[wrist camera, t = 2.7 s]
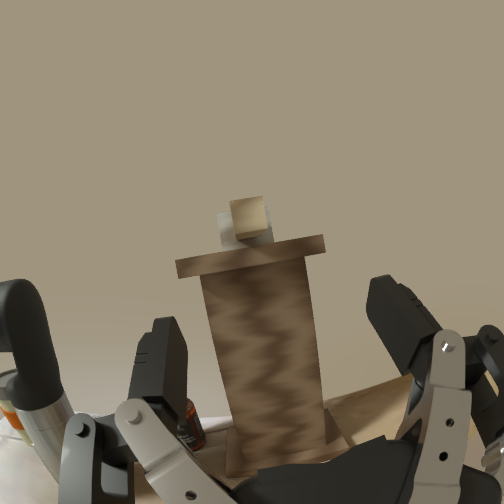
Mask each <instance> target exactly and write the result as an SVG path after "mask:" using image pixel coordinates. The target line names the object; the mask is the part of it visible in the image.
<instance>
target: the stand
mask: <svg viewBox="0 0 504 504" xmlns="http://www.w3.org/2000/svg"><path fill="white" fill-rule="evenodd" d="M325 252H326V251H325V245H324V239H323V234H322V235H315V236H310V237H303V238H298V239H292V240H286V241H281V242H275V243H269V244H263V245H257V246H252V247H246V248H240V249H235V250H229V251H224V252H218V253H212V254H207V255H201V256H196V257H190V258H184V259H179V260H175V263H176V268H177V274H178V278H179V279H180V278H186V277H192V276H198V275H200V280H201V285H202V291H203V295H204V301H205V305H206V310H207V315H208V320H209V325H210V329H211V334H212V338H213V343H214V346H215V351H216V355H217V359H218V364H219V368H220V372H221V376H222V380H223V384H224V388H225V391H226V395H227V399H228V403H229V407H230V411H231V414H232V418H233V421H234V425H235V427H229V428H227V445H226V464H225V473H226V476H227V478H234V477H244V476H252V475H258V472H257V469H264V468H270V467H276V466H281V465H287V464H314V463H319V462H323V461H326V460H330V459H333V458H336V457H338V456H339V455H341V454H343V453H344V452H346V451H348V450H349V446H348V444H347V443H346V441H345V439H344V437H343V436H342V434H341V432H340V430H339V429H338V427H337V425H336V423H335V422H334V420H333V418H332V416H331V414H330V413H329V411H328V409H323V398H322V387H321V378H320V367H319V358H318V350H317V341H316V333H315V325H314V318H313V311H312V303H311V297H310V290H309V283H308V277H307V270H306V264H305V258H304V256H309V255H314V254H320V253H325Z"/></svg>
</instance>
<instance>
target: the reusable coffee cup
mask: <svg viewBox="0 0 504 504" xmlns="http://www.w3.org/2000/svg"><path fill="white" fill-rule="evenodd" d="M16 374H18V373H17V369H12V370H8V371H5V372H2V373H0V405H1V406H0V407H1V410H2V411H3V413H4V415H5V416H6V418H7V419H8V421H9V422H10V424H11V425H12V427H13V428H15V429H16V430H17V432H18V433H19V435H20V436H21V437H22V439H23V440H24V442H25V443H26V444H27V445H29V446H32V444H33V443H32V441H31V439H30V438H29V436H28V434H27V432H26V431H25V429H24V427H23V425H22V423H21V421H20V420H19V418H18V416H17V414H16V412H15V410H14V407H13V405H12V403H11V401H10V399H9V397H8V394H7V391H6V384H7V382H8V380H9V379H11V378H12V377H13V376H15V375H16ZM32 447H33V446H32Z"/></svg>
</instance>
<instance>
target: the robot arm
mask: <svg viewBox="0 0 504 504" xmlns="http://www.w3.org/2000/svg"><path fill="white" fill-rule="evenodd" d="M366 312H367V316H368V319H369V320H370V322H371V324H372V325H373V327H374V329H375V330H376V332H377V334H378V335H379V337H380V339H381V340H382V342H383V344H384V345H385V347H386V349H387V350H388V352H389V354H390V355H391V357H392V359H393V361H394V362H395V364H396V366H397V368H398V370H399V371H400V373H401V375H402V376H404V375H407V374H409V373H412V374H413V376H414V377H413V379H412V383H411V388H410V393H409V398H408V402H407V407H406V411H405V415H404V418H403V421H402V423H401V425H400V427H399V429H398V432H397V434H396V437H395V440H386V438H385V435H382V436H380V437H377V438H375V439H372V440H370V441H367V442H364V443H362V444H359V445H356V446H354V447H353V448H351V449H349V450H348V451H346V452H344V453H343V454H341V455H339V456H338V457H336V458H334V459H332V460H330V461H329V462H326V463H314V464H287V465H281V466H276V467H270V468H264V469H257V472H258V475H256V476H253V477H251V478H249V479H247V480H245V481H243V482H242V483H240V484H238V485H237V486H236V487H235V488H233V489H231V488H230V487H229V486H228V485H227V484H226V483H224V482H223V481H222V480H221V479H220V478H219V477H218V476H217V475H216V474H214V473H213V472H212V471H211V470H210V469H209V468H208V467H207V466H206V465H205V464H204V463H203V462H202V461H201V460H200V459H199V458H198V457H197V456H196V455H195V454H194V453H193V452H192V451H191V450H190V448H189V447H188V446H187V445H186V444H185V443H184V442H183V441H182V439H181V438H180V437H179V436H178V435H177V432H178V425H187V365H188V351H187V345H186V342H185V340H184V337H183V336H182V333H181V331H180V328H179V326H178V324H177V321H176V319H175V318H174V317H173V316H172V317H164V318H156V319H155V320H154V323H153V328H152V332H149V333H145V334H144V335H143V337H142V339H141V340H140V341H139V343H138V347H137V352H136V357H135V361H134V363H135V365H134V367H133V372H132V378H131V383H130V388H129V394H128V399H127V400H126V401H124V402H123V403H122V404H120V405H119V407H118V408H117V410H116V412H115V413H114V414H111V415H108V416H104V417H101V418H97V419H93V418H92V417H91V416H90V415H88V414H85V413H78V414H74V411H73V409H72V407H71V405H70V403H69V401H68V398H67V396H66V394H65V391H64V389H63V386H62V384H61V380H60V373H59V366H58V362H57V358H56V355H55V351H54V347H53V344H52V340H51V335H50V331H49V326H48V321H47V317H46V313H45V309H44V305H43V302H42V300H41V297H40V295H39V293H38V291H37V289H36V288H35V286H34V285H33V284H32V283H31V282H30V281H28V280H25V279H15V280H9V281H5V282H0V352H12V353H13V356H14V360H15V364H16V368H17V373H18V374H16V375H15V376H13V377H12V378H11V379H9V380H8V382H7V384H6V391H7V394H8V397H9V399H10V401H11V403H12V405H13V407H14V410H15V412H16V414H17V416H18V418H19V420H20V421H21V423H22V425H23V427H24V429H25V431H26V432H27V434H28V436H29V438H30V439H31V441H32V443H33V444H32V446H33V448H34V450H35V451H36V453H37V454H38V456H39V457H40V459H41V460H42V462H43V463H44V465H45V466H46V468H47V469H48V470H49V472H50V473H51V475H52V476H53V477H54V479H55V480H56V481H57V483H58V484H59V495H58V504H135V495H134V462H137V461H139V462H140V463H141V465H142V466H143V468H144V469H145V473H144V475H145V478H146V479H147V481H148V482H149V484H150V485H151V486H152V488H153V489H154V490H155V492H156V493H157V494H158V495H159V496H160V498H161V499H162V500H163V501H164V503H165V504H501V501H502V496H504V335H503V333H502V332H501V331H500V330H499V329H498V328H496V327H495V326H492V325H484V326H483V327H481V329H480V330H479V332H478V334H477V335H476V336H469V337H461V336H460V335H459V334H458V333H457V332H455V331H452V330H443V329H442V327H441V326H440V325H439V324H438V322H437V321H436V320H435V318H434V317H433V316H432V315H431V313H430V312H429V311H428V310H427V309H426V307H425V306H423V304H422V302H421V301H420V300H419V299H417V296H416V295H415V294H414V293H413V292H412V291H411V289H409V288H407V287H406V286H404V285H403V284H401V283H400V284H397V283H396V282H395V280H394V279H393V278H392V277H391V276H390V275H383V276H379V277H375V278H372V279H371V281H370V286H369V292H368V298H367V303H366ZM487 369H488V371H489V373H490V374H491V376H492V378H493V379H494V381H495V383H496V385H497V386H498V389H499V394H498V397H497V395H496V394H495V392H494V390H493V388H492V387H491V385H490V383H489V381H488V380H487V378H486V376H485V374H484V373H485V372H486V371H487ZM470 415H471V417H472V419H473V421H474V423H475V425H476V427H477V430H478V432H479V434H480V436H481V439H482V441H483V444H484V446H485V448H486V451H485V455H484V456H483V458H482V460H481V464H482V466H483V467H486V469H485V472H482V471H479V470H477V469H474V468H471V467H468V466H466V465H464V464H463V461H464V456H465V451H466V446H467V439H468V432H469V424H470Z"/></svg>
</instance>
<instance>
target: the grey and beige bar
mask: <svg viewBox="0 0 504 504" xmlns="http://www.w3.org/2000/svg"><path fill="white" fill-rule="evenodd" d="M230 208H231V212H226V213H221V214H217V220H218V226H219V232H220V238H221V244H222V250H223V252H224V251H229V250H235V249H240V248H246V247H252V246H257V245H263V244H269V243H274V239H273V233H272V227H271V222H270V216H269V211H268V206H264V203H263V197H262V196H258V197H252V198H246V199H240V200H234V201H230Z"/></svg>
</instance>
